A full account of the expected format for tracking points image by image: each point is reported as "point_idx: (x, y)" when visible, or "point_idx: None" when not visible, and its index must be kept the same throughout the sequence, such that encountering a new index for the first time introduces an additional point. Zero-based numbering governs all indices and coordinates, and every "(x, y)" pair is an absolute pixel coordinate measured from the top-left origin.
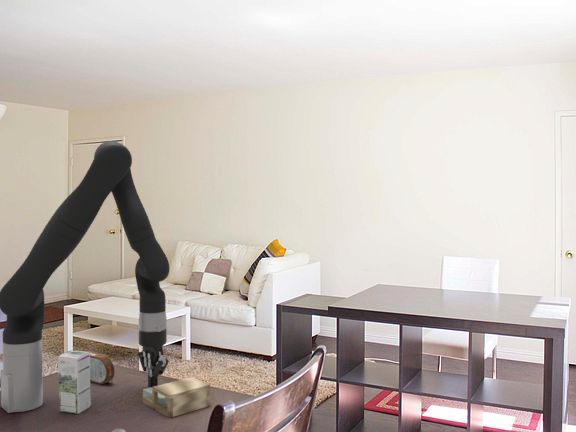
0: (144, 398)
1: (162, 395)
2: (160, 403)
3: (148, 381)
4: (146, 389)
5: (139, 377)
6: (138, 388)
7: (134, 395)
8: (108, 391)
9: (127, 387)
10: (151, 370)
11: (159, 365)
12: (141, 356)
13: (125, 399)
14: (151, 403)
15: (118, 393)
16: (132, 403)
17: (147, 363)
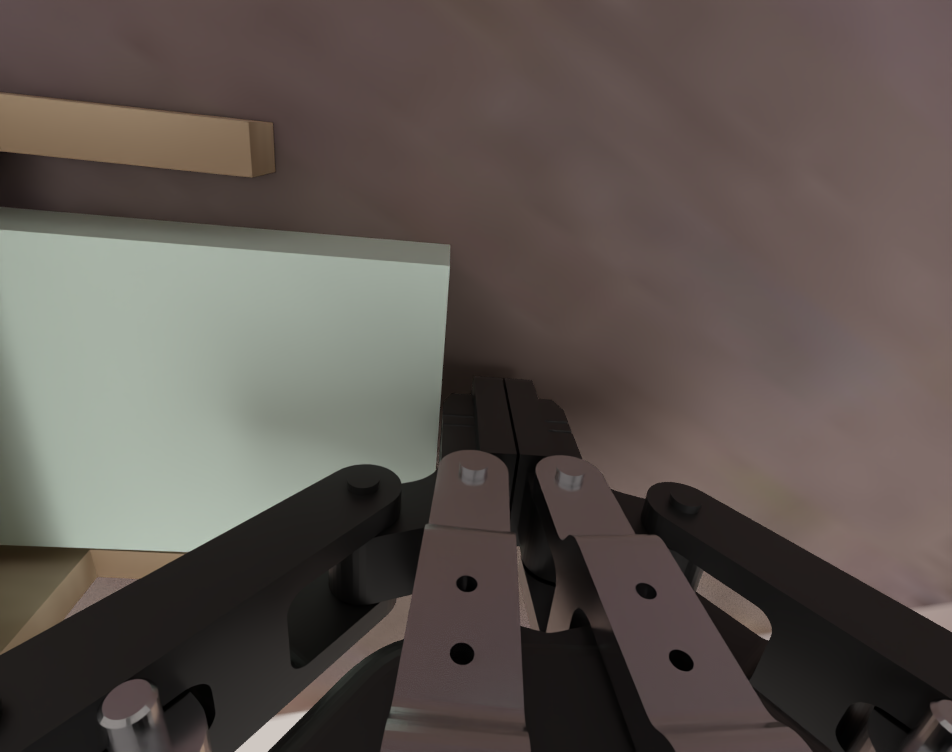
0: (200, 117)
1: (69, 304)
2: (31, 216)
3: (531, 417)
4: (411, 294)
5: (913, 521)
6: (702, 361)
7: (567, 209)
8: (945, 61)
9: (827, 302)
10: (440, 521)
11: (22, 660)
12: (942, 715)
13: (540, 42)
14: (6, 94)
15: (778, 112)
16: (350, 18)
17: (593, 605)
